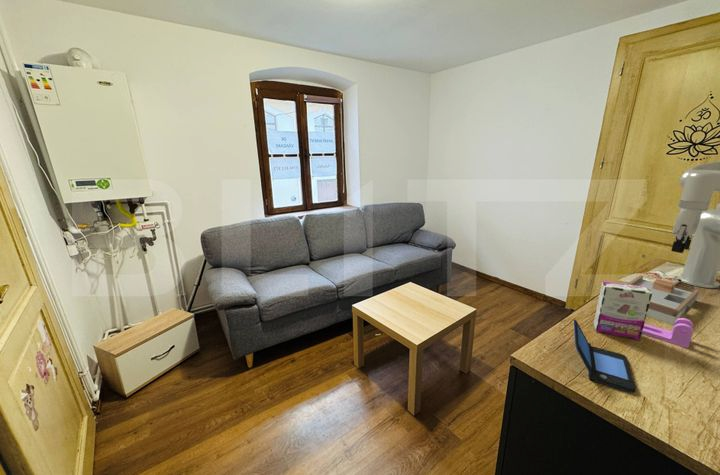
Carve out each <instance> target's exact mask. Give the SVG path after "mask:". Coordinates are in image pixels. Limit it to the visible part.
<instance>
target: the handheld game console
mask: <svg viewBox="0 0 720 475" xmlns="http://www.w3.org/2000/svg"><path fill="white" fill-rule="evenodd" d="M573 333H574V334H573V335H574V345H575V349H576V350H577V353H578V355H579V356H580V359H582V362H583V364H584V365H585V368H586V369H587V371H588V374H587V375H588V379H589V380H590V381H591V382H592V381H595V382H597V383H601V384H603V385H606V386H610V387H613V388H616V389H619V390H622V391H625V392H629V393H635V392H636V390H637V386H636V384H635V380H634V377H633V374H632V370H631V367H630V363H629V360H628V357H627V356H626V355H624V354H622V353H619V352H615V351H612V350H608V349H604V348H601V347H597V346H593V345H591V343H590V342H588V339H587V337H586V336H585V334H584V332H583V330H582V328H581V327H580V325H579V323H578V321H577V320H576V319H574V320H573Z"/></svg>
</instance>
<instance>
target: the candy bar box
mask: <svg viewBox="0 0 720 475" xmlns="http://www.w3.org/2000/svg"><path fill="white" fill-rule="evenodd" d="M599 292H600V293H599V296H598V301H597V304H596V305H597V306H596V310H595V315H594V319H593V327H594V330H595V332H596V333H600V334H604V335H605V334H606V335H612V336H615V337H622V338H626V339H632V340H635V341H636V340H637V341H641V338H642V335H643V334H642V331H643V327H644V324H646V318H647V316H646V315H647V312H648V308H649V304H650V300H651V297H652V292H651V291H650V290H649V289H648V288H647V287H643V286H636V285H628V283H620V282H619V283H618V282H613V281H601V286H600V290H599Z"/></svg>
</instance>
